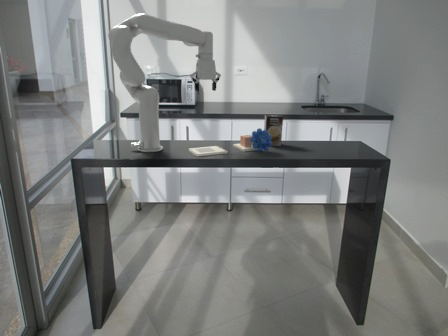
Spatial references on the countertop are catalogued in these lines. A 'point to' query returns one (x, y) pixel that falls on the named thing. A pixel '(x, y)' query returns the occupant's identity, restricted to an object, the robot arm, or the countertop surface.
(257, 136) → the grapes
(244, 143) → the stub
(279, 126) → the coffee box
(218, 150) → the cream panel with window
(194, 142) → the countertop surface
